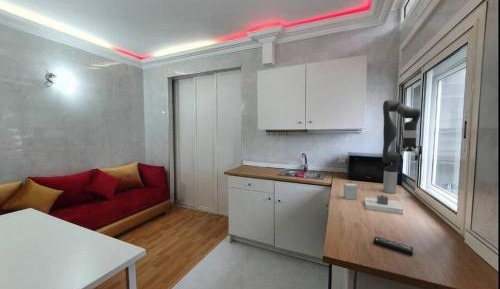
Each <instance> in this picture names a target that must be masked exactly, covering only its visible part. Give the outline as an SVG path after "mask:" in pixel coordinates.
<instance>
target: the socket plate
mask: <svg viewBox="0 0 500 289" xmlns="http://www.w3.org/2000/svg"><path fill="white" fill-rule="evenodd" d="M363 203H364V206H365V209H366V210H369V211H378V212H383V213H392V214H398V215H399V214H400V215H403V214H404V209H403V207H402V206H401V204H400V203H399V201H398V200H391V199H390V200H389V199H388V205H385V204H378V203H377V198H372V197H364V198H363Z"/></svg>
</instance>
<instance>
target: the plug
mask: <svg viewBox="0 0 500 289" xmlns="http://www.w3.org/2000/svg"><path fill="white" fill-rule="evenodd" d="M376 196H377V197H376V199H377V203H378V204H385V205H388V200H389V198H388V196H387V195H384V194H381V195H379V194H378V195H376Z"/></svg>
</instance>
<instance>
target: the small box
mask: <svg viewBox="0 0 500 289" xmlns="http://www.w3.org/2000/svg"><path fill="white" fill-rule="evenodd" d="M343 198H345V200H358V185H357V184H356V183H343Z"/></svg>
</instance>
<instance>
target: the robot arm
mask: <svg viewBox="0 0 500 289" xmlns="http://www.w3.org/2000/svg"><path fill="white" fill-rule="evenodd" d="M382 105H383V106H382V112H383V113H382V114H383V132H382V133H383V134H382V135H383V137H382V138H383V148H382V158H381V159H382V162H383V163H386V164H388V163H389V164H390V165H387V166H384V168H383V180H382V181H383V184H382V186H383V187H382V192H383V193H386V194H387V193H388V194H397V188H398V187H397V186H398V185H397V184H398V171H399V163H400V162H399V161H402V160H403V154H404V153H405V152H410V153H411V152H413V153H414V161H416V162H417V161H418V160H419V156H420V155H422V154H423V153H422V152H423V150H422V148H423V146H422V145H417V137H418V135H417V130H418V129H417V127H418V122H419V120H420V117H421V114H422V110H421V109H420V108H418V107H410V106H408V105H405V104H403V103H402V102H401V101H398V100H395V99H394V100H393V99H389V100H384V101H383V104H382ZM390 112H392V113H395V112H396V113H397V114H398V115H400V116H402V117H401V118H403V119H411V120H410V121H405V122H404V125H403V134H402V144H401V145H400V144H397V145H396V149H395V150H396V151H389V148H390V147H391V144H392V143H393V141H394V140H395V139H396V137H397V135H398V127H397V125H396V123H395V122H394V120H393V119H392V117H391V114H390ZM401 148H402V149H401ZM416 148H417V149H418V152H417V150H416ZM400 149H401V151H400Z"/></svg>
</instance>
